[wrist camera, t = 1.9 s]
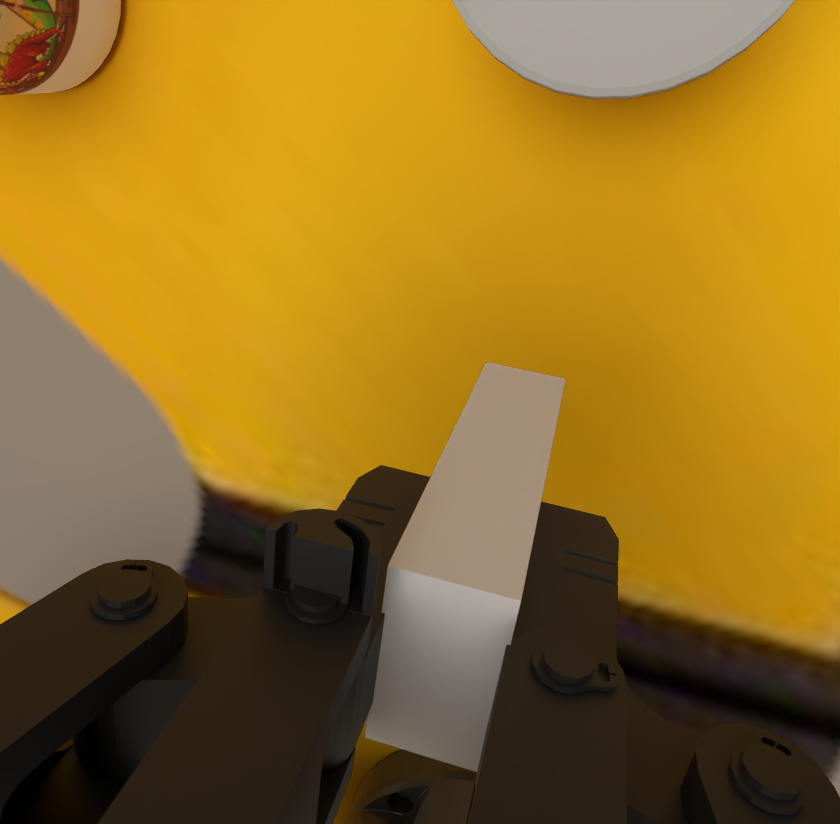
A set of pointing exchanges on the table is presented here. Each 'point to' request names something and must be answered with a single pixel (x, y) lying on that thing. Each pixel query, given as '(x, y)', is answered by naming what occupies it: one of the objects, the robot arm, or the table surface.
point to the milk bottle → (53, 42)
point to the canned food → (617, 40)
